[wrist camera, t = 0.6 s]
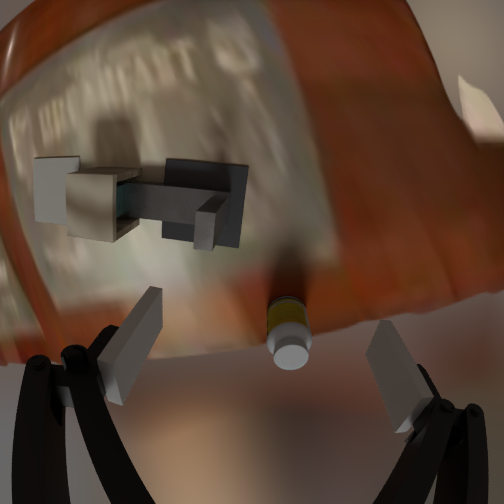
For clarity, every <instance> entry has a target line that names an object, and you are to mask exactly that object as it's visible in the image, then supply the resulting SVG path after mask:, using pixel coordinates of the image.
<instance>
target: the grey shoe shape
mask: <svg viewBox="0 0 504 504" xmlns="http://www.w3.org/2000/svg"><path fill="white" fill-rule="evenodd" d="M248 168H249V167H244V166H235V165H226V164H217V163H206V162H195V161H182V160H167V159H166V166H165V179H164V183H165V184H176V185H187V186H197V187H207V188H216V189H225V190H231V195H230V204H229V213H228V222H227V226H226V228H225V229H223V231H222V233H221V235H220V237H219V239H218V241H217V243H216V245H219V246H226V247H234V248H239V241H240V233H241V224H242V216H243V208H244V200H245V192H246V184H247V176H248ZM194 231H195V225H193V224H185V223H176V222H168V221H162V238H167V239H174V240H182V241H189V242H194Z"/></svg>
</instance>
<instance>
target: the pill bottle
mask: <svg viewBox="0 0 504 504" xmlns="http://www.w3.org/2000/svg"><path fill="white" fill-rule="evenodd" d="M311 344H312V335H311V330H310V326H309V322H308V317H307V312H306V308H305V306H304V304H303V303H302V302H301V301H300V300H299V299H297V298H295V297H290V296H284V297H280V298H278V299H276V300H274V301H273V302H272V303H271V304H270V306H269V308H268V311H267V346H268V349H269V350H270V352H271V353H272V354H273V355H274V362H275V363H276V365H277V366H279V367H280V368H282V369H286V370H294V369H298V368H300V367H302V366H303V365H305V364H306V362H307V361H308V357H309V355H308V354H309V353H308V350H309V348H310V347H311Z"/></svg>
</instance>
